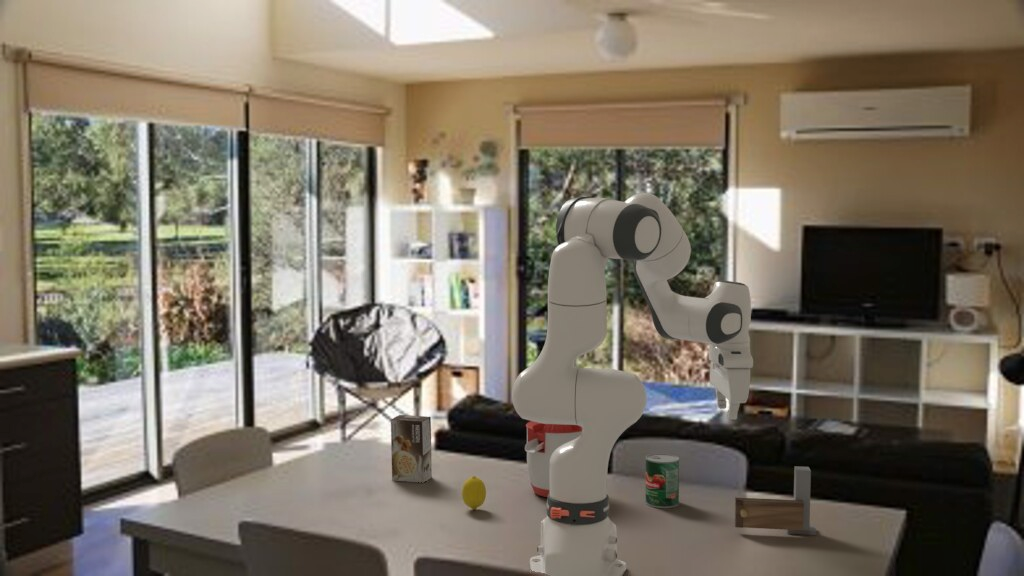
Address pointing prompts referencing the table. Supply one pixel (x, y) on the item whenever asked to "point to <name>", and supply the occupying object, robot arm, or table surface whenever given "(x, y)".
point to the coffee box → (411, 448)
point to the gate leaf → (769, 513)
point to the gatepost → (803, 498)
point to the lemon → (473, 492)
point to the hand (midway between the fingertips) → (726, 413)
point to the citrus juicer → (545, 450)
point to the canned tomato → (662, 480)
